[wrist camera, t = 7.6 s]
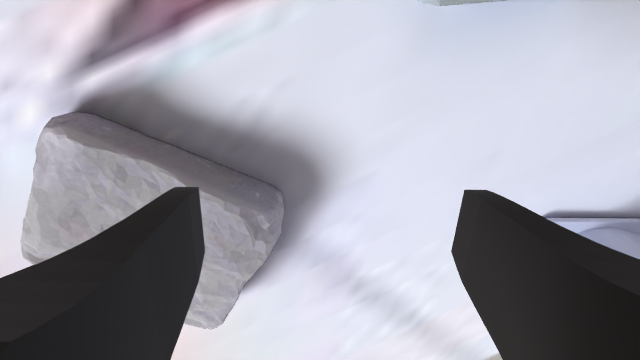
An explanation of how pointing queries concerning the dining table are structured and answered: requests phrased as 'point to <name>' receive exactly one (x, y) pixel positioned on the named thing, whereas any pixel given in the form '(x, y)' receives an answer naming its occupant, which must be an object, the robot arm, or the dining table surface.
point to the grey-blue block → (454, 2)
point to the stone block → (137, 191)
